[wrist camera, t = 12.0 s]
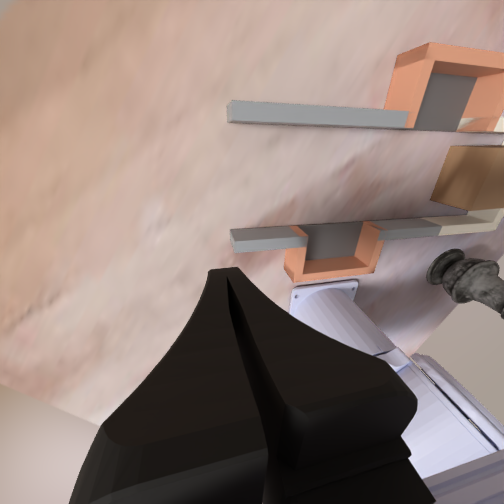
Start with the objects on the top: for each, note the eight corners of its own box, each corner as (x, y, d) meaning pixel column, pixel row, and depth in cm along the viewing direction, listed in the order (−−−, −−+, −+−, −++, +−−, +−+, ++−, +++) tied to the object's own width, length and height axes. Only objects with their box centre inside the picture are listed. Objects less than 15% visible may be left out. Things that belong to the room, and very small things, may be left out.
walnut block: (473, 196, 24) (520, 206, 20) (428, 199, 23) (470, 211, 19) (497, 145, 21) (555, 147, 18) (448, 145, 20) (500, 147, 17)
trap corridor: (454, 250, 27) (477, 260, 25) (231, 274, 21) (235, 289, 19) (545, 73, 19) (590, 65, 17) (224, 33, 13) (230, 13, 11)
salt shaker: (471, 240, 27) (645, 306, 16) (458, 278, 30) (599, 354, 19) (429, 254, 26) (581, 331, 16) (420, 291, 29) (544, 376, 19)
